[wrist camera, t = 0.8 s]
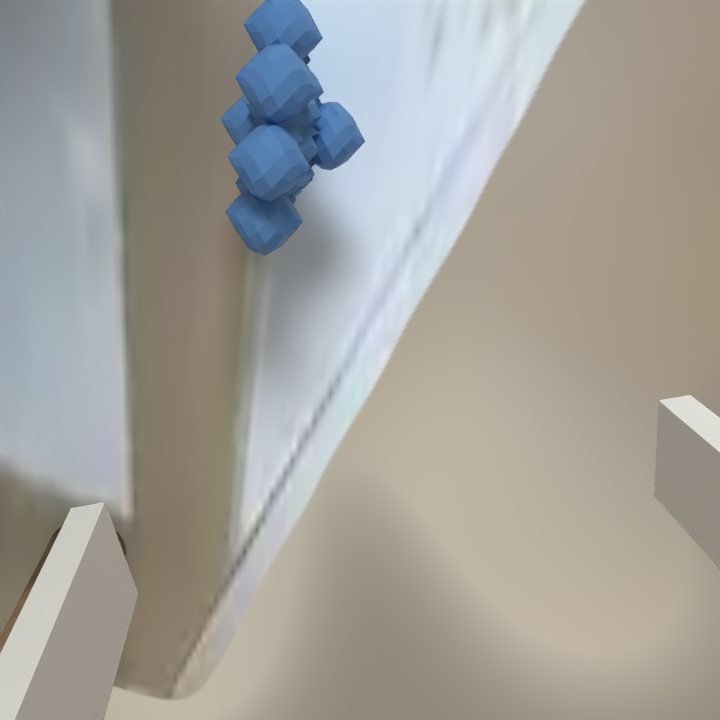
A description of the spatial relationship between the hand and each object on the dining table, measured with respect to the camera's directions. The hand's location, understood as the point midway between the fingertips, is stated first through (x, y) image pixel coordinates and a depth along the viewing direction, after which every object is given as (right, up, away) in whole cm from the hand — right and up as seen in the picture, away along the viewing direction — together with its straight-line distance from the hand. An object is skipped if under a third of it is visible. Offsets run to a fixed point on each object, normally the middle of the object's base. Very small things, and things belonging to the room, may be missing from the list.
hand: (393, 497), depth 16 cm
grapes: (-5, +16, +21) cm, 27 cm away
